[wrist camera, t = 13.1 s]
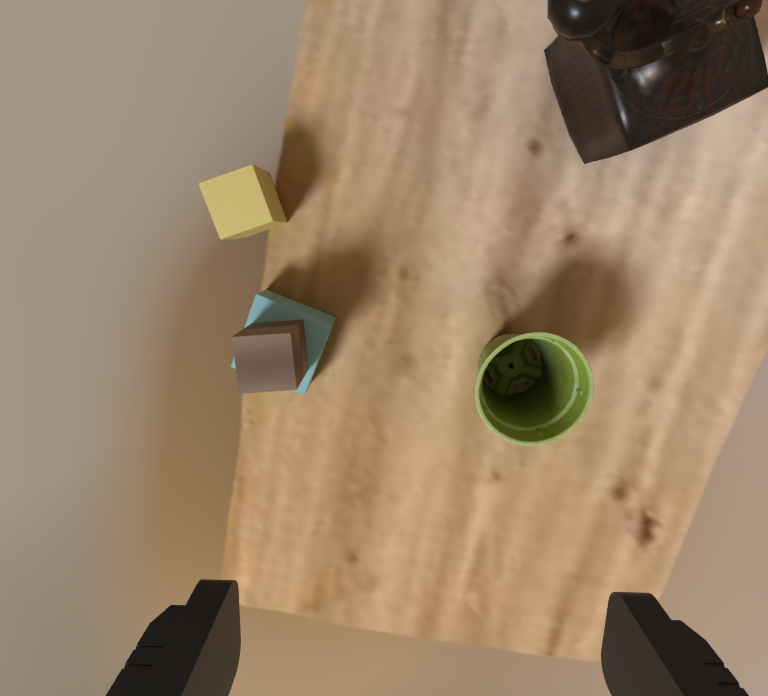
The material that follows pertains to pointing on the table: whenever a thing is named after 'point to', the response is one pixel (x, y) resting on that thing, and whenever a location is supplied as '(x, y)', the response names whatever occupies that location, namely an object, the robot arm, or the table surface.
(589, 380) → the plant pot
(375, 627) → the table surface
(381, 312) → the table surface
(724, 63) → the dark brown ornament
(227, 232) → the mustard block
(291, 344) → the walnut block
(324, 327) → the teal plinth block
